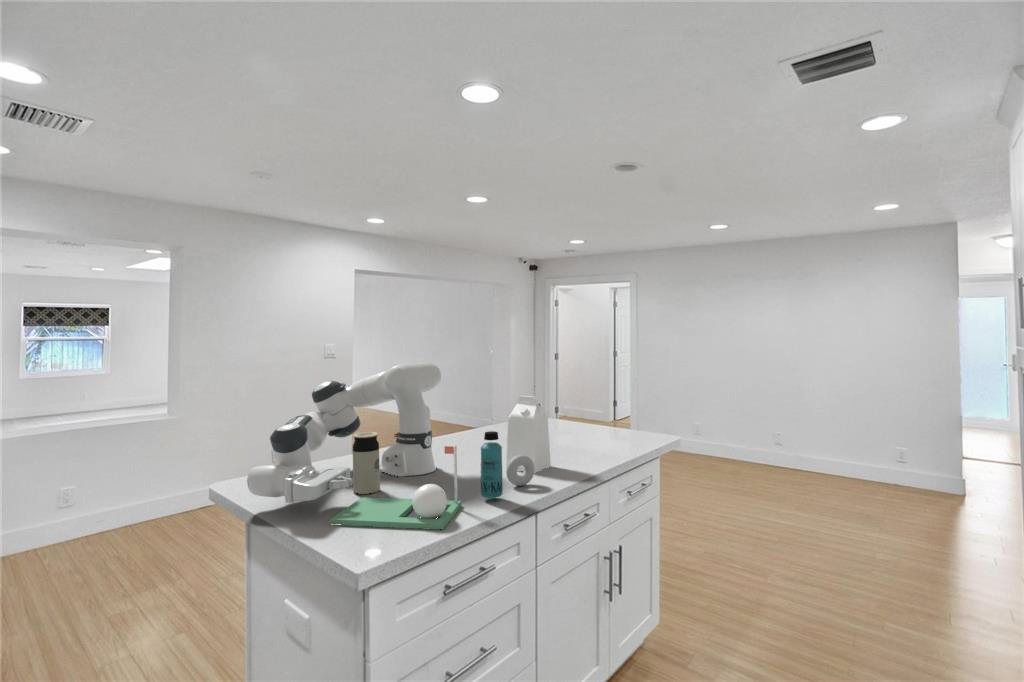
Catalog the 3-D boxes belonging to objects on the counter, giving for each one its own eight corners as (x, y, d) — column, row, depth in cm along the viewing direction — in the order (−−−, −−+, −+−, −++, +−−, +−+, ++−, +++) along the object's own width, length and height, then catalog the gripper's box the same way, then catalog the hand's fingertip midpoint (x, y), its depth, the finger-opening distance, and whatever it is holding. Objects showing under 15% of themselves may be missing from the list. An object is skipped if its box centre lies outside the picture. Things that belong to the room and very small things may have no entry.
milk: (550, 466, 186) (549, 395, 185) (535, 473, 176) (534, 398, 176) (522, 462, 192) (521, 393, 192) (506, 469, 182) (505, 397, 182)
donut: (509, 489, 158) (509, 457, 158) (504, 487, 161) (504, 455, 161) (537, 484, 163) (536, 453, 163) (531, 482, 166) (531, 451, 166)
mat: (330, 525, 130) (329, 457, 130) (362, 502, 148) (360, 442, 148) (442, 530, 126) (441, 459, 125) (461, 506, 143) (460, 444, 143)
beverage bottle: (480, 497, 151) (479, 430, 151) (502, 495, 152) (501, 429, 152) (481, 504, 145) (479, 434, 145) (504, 503, 145) (502, 433, 145)
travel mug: (348, 493, 157) (346, 435, 157) (364, 486, 164) (362, 431, 164) (369, 496, 154) (368, 437, 154) (384, 488, 161) (383, 432, 161)
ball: (441, 502, 127) (406, 506, 127) (448, 525, 132) (414, 528, 132) (444, 474, 134) (411, 478, 135) (451, 497, 139) (418, 500, 140)
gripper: (323, 482, 151) (366, 483, 149) (281, 505, 131) (331, 506, 129) (322, 461, 151) (366, 461, 149) (281, 480, 131) (330, 482, 129)
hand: (350, 482), depth 139 cm, fingers closed
